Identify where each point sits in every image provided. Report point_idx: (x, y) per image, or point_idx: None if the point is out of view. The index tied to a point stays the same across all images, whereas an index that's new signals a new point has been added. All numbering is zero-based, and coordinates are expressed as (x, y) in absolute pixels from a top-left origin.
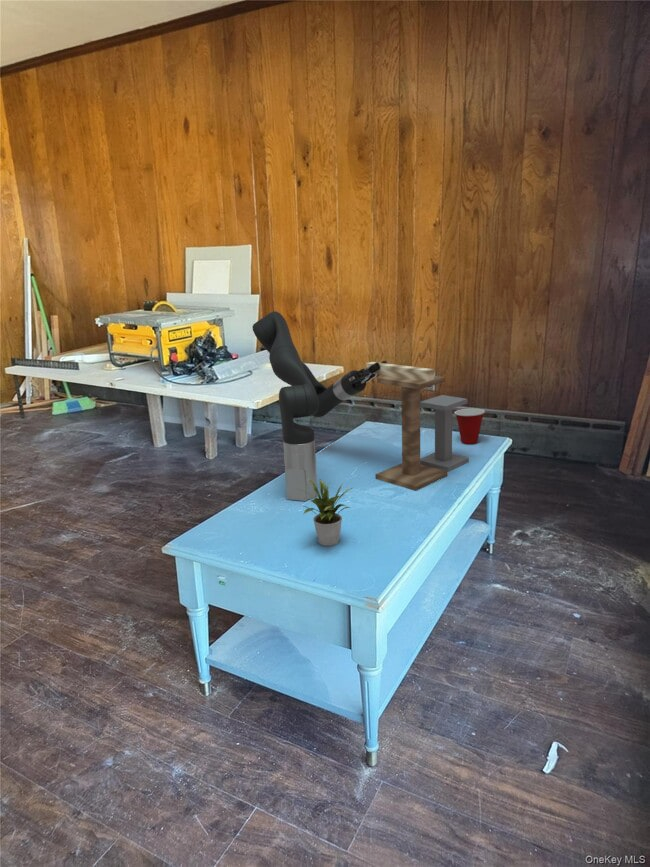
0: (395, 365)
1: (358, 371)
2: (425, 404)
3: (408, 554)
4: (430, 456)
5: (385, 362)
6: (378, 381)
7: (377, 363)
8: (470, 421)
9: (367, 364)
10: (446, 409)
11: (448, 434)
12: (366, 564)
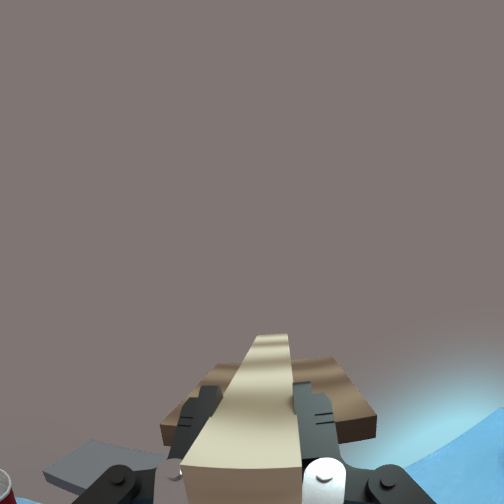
0: (259, 367)
1: (427, 495)
2: None
3: (457, 439)
4: None
5: (219, 392)
6: (374, 427)
7: (310, 383)
8: (13, 497)
9: (301, 466)
10: None
11: None
12: (497, 432)
